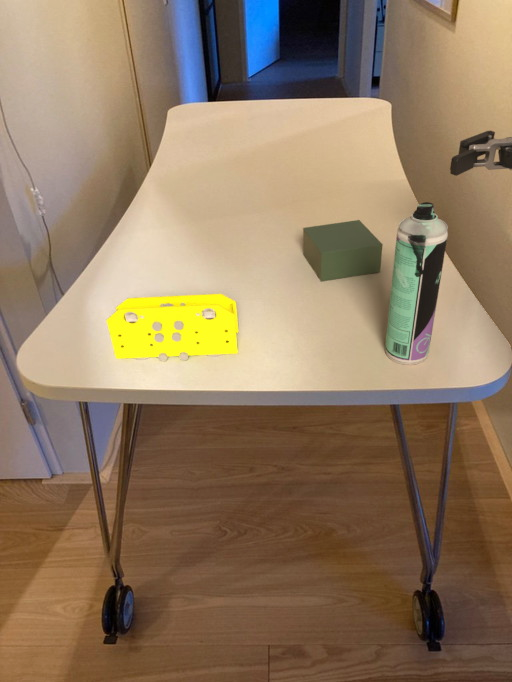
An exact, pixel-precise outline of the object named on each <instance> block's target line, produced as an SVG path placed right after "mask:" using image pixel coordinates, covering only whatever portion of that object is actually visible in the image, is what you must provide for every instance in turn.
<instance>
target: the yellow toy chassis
mask: <svg viewBox="0 0 512 682" xmlns="http://www.w3.org/2000/svg"><path fill="white" fill-rule="evenodd" d="M106 325H107V329H108V333H109V336H110V341H111V345H112V349H113V352H114V356H115V359H116V360H121V359H134V360H136V361H145V360H148V359H151V358H158V361H159V362H163V363H164V362H167V361H168V358H169V357H178V359H179V360H180V361H182V362H186V361H187V360H188V359H189V356H207V357H210V358H218V357H221V356H223V355H235V354H239V351H238V341H237V340H238V334H239V332H240V331H239V320H238V308H237V301H235V300H234V299H232V298H230V297H229V296H227V295H225V294H223V293H208V294H207V293H206V294H185V295H183V294H182V295H181V294H180V295H161V296H144V297H143V296H142V297H140V296H139V297H127V298H126V299H124V300H123V301H122V302H121V303H119V304H118V305H116V306H115V312H114V313H112V314H111V315H109V317H108V318H106Z"/></svg>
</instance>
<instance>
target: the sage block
mask: <svg viewBox="0 0 512 682" xmlns="http://www.w3.org/2000/svg"><path fill="white" fill-rule="evenodd" d="M302 230H303V231H302V245H303V246H302V248H303V249H302V251H303V252H302V254H303V256H304V258H305V259H306V261H307V263H308V264H309V265H310V267H311V269H312V271H314V273H315V275H316V276H317V278H318V279H319V281H320V282H327V281H333V280H339V279H345V278H352V277H359V276H365V275H370V274H371V275H372V274H378V273H381V266H382V255H383V253H382V252H383V243H382V242H381V241H380V240H379V239H378V238H377V237H376V235H374V234H373V232H371V230H370V229H369V228H368V227H367V226H366V225H365V224H364V223H363V222H362V221H361V220H360V219H356V220H349V221H342V222H335V223H328V224H322V225H315V226H307V227H302Z"/></svg>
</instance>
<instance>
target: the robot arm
mask: <svg viewBox="0 0 512 682" xmlns="http://www.w3.org/2000/svg"><path fill="white" fill-rule="evenodd" d="M495 134H496V132H495V131H494V130H486V131H484V132H480V133H478V134H475V135H473V136H472V135H471V136H470V137H467V138H464V139H461V140H460V142H459V148H458V154H456V155H454V156H452V157H451V161H450V165H449V166H450V167H449V170H450V175H453V176H456V177H457V176H459V175H461V174H464V173H465V172H468V171H470V170H472V169H474V168H481V167H482V168H483V167H485V168H486V170H487V171H488V170H490V171H492V170H509V171H512V136H509V137H504V138H496V137H495ZM497 151H498V153H497V154H498V161H495V158H496V152H497ZM481 156H484V158H481V159H480V158H479V157H481Z"/></svg>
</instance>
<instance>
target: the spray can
mask: <svg viewBox="0 0 512 682" xmlns="http://www.w3.org/2000/svg"><path fill="white" fill-rule="evenodd" d="M434 209H435V208H434V203H433V202H430V201H426V202H422V203H419V204H418V205H417V206H416V210H414V211H413V212H412V213H411V214H410V216H408V217H404V218H403V219H402V220H400V221H399V222H398V228H397V230H396V238H395V249H394V257H393V265H392V266H393V267H392V276H391V277H392V278H391V287H390V297H389V306H388V315H387V324H386V325H387V326H386V333H385V334H386V335H385V344H384V353H385V355H386V357H388V359H390V360H391V361H393V362H395V363H397V364H400V365H406V366H414V365H419V364H421V363H423V362H425V361H426V360H427V359H428V357H429V352H430V347H431V342H432V341H431V340H432V335H433V329H434V323H435V316H436V309H437V304H438V297H439V290H440V286H441V280H442V279H441V278H442V273H443V267H444V260H445V255H446V249H447V242H448V236H449V232H448V229H449V225H448V224H447V223H446V222H445V221H444V220H442V219H440V218H438V216H439V215H438V214H436V213H435V212H434V211H435V210H434Z"/></svg>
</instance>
